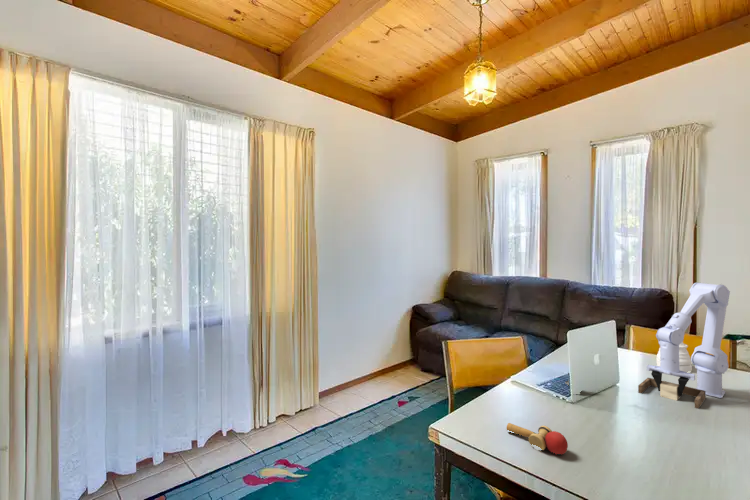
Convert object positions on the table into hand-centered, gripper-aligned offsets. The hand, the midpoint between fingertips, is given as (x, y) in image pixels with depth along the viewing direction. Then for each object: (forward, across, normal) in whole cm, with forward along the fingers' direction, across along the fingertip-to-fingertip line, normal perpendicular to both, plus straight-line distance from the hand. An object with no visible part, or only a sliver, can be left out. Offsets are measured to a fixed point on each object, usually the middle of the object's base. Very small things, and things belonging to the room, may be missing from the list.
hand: (670, 393), depth 136 cm
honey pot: (+2, -7, +41) cm, 42 cm away
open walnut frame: (+1, 0, +1) cm, 2 cm away
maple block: (+2, 0, 0) cm, 2 cm away
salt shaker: (+2, -26, -24) cm, 35 cm away
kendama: (+2, -17, -72) cm, 74 cm away
